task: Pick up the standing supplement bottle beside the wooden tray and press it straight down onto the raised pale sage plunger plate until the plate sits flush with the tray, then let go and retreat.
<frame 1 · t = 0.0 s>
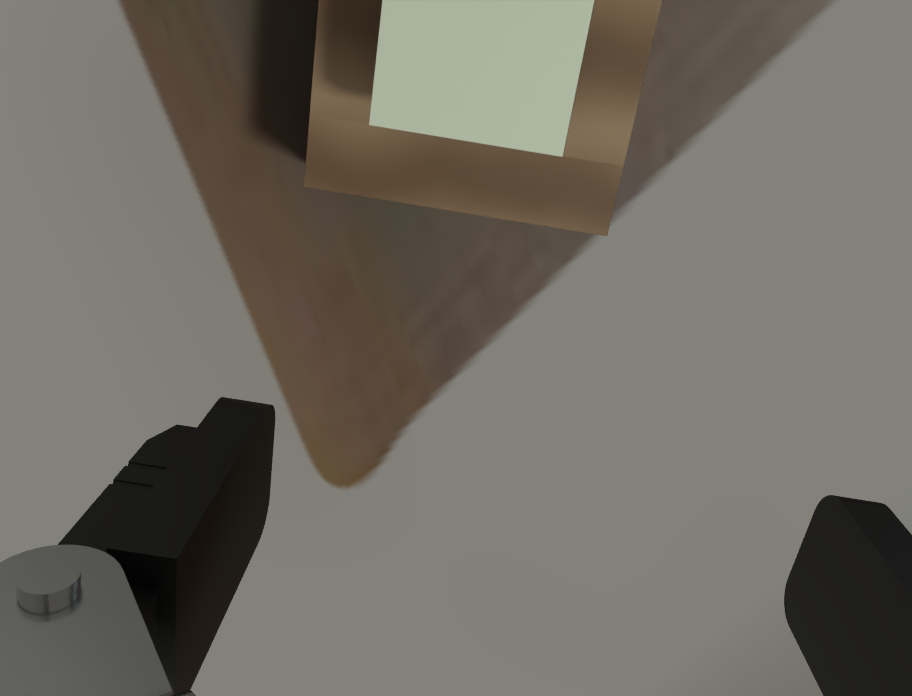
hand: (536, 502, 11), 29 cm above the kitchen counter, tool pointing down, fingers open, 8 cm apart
plunger plate: (482, 36, 30), point 6 cm above the kitchen counter, slide at 3.0 cm
wooden tray: (484, 35, 36), on the kitchen counter
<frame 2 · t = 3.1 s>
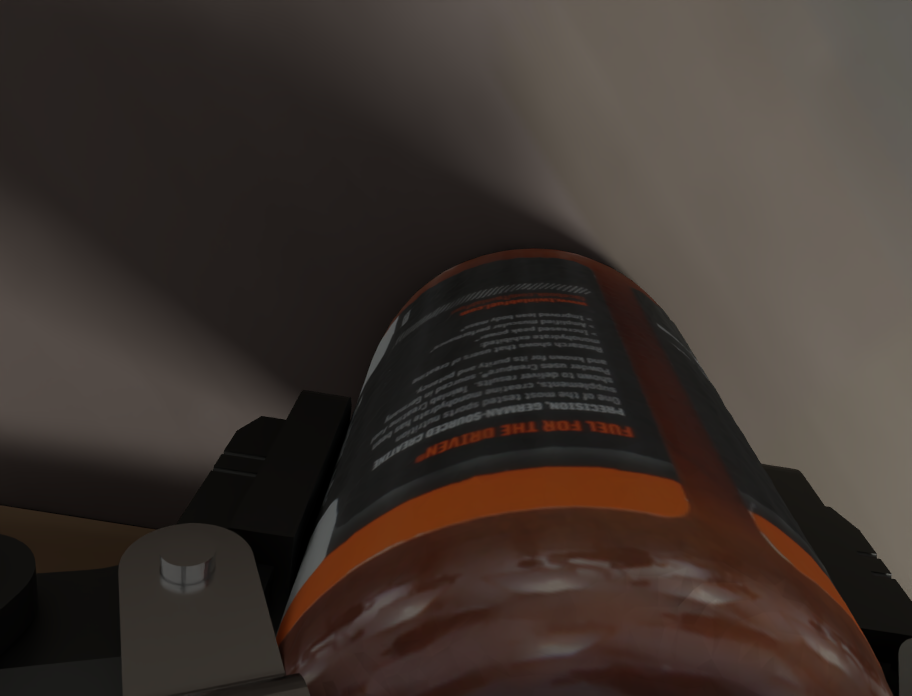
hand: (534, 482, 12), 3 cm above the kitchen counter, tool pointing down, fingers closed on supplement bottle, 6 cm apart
supplement bottle: (526, 387, 15), on the kitchen counter, touching gripper
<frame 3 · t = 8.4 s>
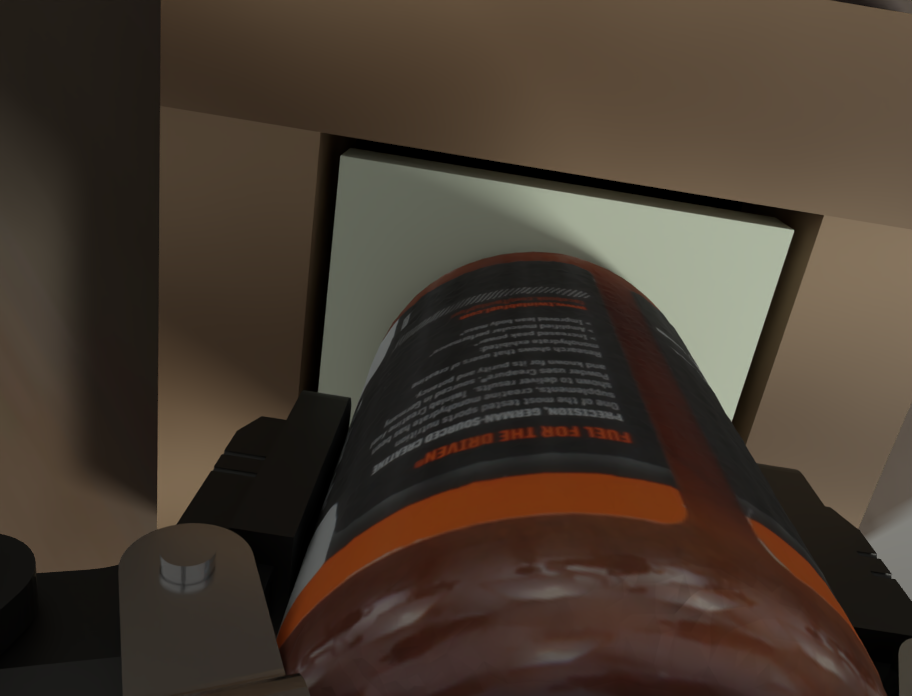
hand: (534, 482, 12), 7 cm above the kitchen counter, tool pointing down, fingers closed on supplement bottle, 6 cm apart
supplement bottle: (526, 390, 15), point 4 cm above the kitchen counter, touching gripper, plunger plate
plunger plate: (524, 386, 15), point 3 cm above the kitchen counter, slide at -0.1 cm, touching supplement bottle
wooden tray: (519, 326, 18), on the kitchen counter
when the fingers open (7 cm above the kitchen counter, at t = 9.8 s): supplement bottle stays where it is, resting on plunger plate.
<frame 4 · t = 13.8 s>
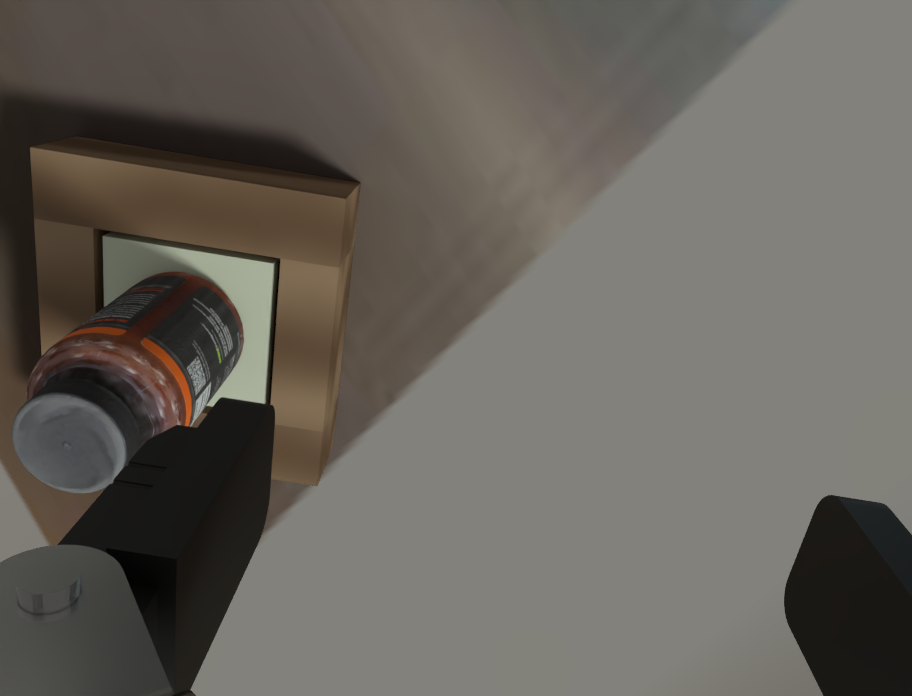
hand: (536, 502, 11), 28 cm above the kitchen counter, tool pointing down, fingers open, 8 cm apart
supplement bottle: (188, 326, 37), point 4 cm above the kitchen counter, touching plunger plate
plunger plate: (190, 325, 37), point 3 cm above the kitchen counter, slide at -0.2 cm, touching supplement bottle
wooden tray: (213, 303, 40), on the kitchen counter
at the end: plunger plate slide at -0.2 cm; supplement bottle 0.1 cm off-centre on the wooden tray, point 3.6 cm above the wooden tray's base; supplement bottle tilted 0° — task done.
